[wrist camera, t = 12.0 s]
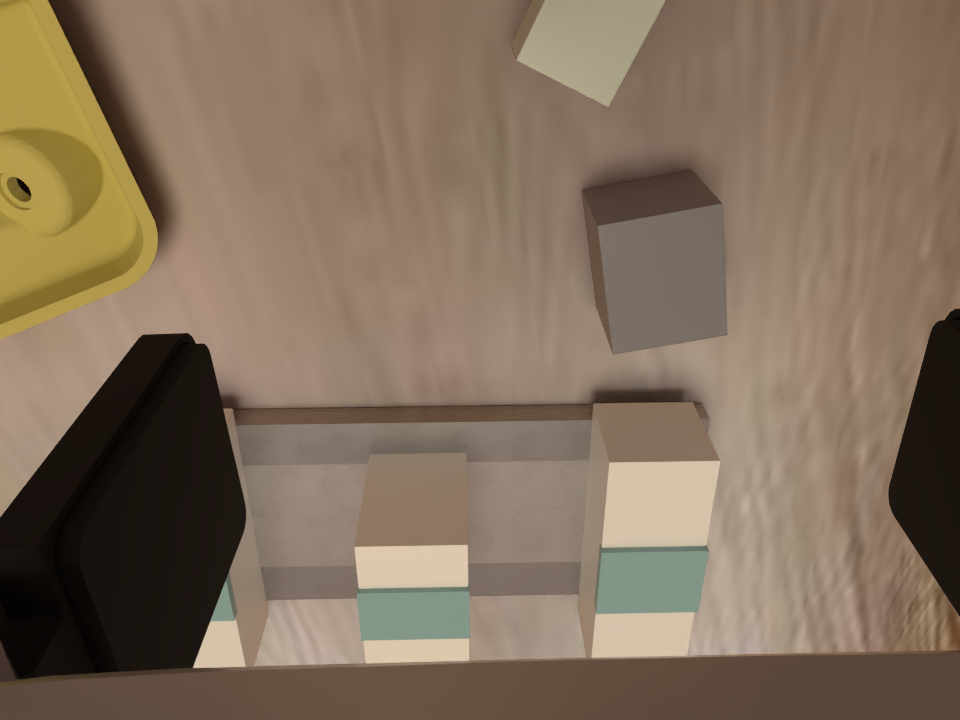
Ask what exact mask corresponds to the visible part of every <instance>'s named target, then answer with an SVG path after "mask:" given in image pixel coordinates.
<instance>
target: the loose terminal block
mask: <svg viewBox="0 0 960 720" xmlns="http://www.w3.org/2000/svg"><path fill="white" fill-rule="evenodd" d="M665 1H666V0H532V1H531V4H530V6H529V8H528V10H527V12H526V14H525V16H524V18H523V21H522V23H521V25H520V27H519V29H518V31H517V33H516V36H515V38H514V40H513V42H512V44H511V47H512V50H513V53H514V55H515V58H516V60H517V61H519V62H521V63H523V64H525V65H527V66H529V67H531V68H533V69H534V70H536V71H538V72H540V73H542V74H544V75H546V76H548V77H550V78H552V79H554V80H556V81H558V82H560V83H562V84H564V85H566V86H568V87H570V88H572V89H574V90H576V91H578V92H580V93H582V94H584V95H586V96H588V97H589V98H591V99H593V100H595V101H597V102H599V103H601V104H603V105H605V106H607V107H609V105H610V103H611V101H612V99H613V97H614V95H615V94H616V92H617V90H618V88H619V86H620V84H621V82H622V81H623V79H624V77H625V75H626V73H627V71H628V70H629V68H630V66H631V64H632V62H633V60H634V58H635V57H636V55H637V53H638V51H639V49H640V47H641V45H642V44H643V42H644V40H645V38H646V36H647V34H648V33H649V31H650V29H651V27H652V25H653V23H654V21H655V20H656V18H657V16H658V14H659V12H660V10H661V8H662V7H663V5H664V3H665Z"/></svg>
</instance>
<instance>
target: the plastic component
mask: <svg viewBox="0 0 960 720" xmlns="http://www.w3.org/2000/svg"><path fill="white" fill-rule="evenodd" d="M16 178H18V179H21V180H22V181H23V182H24V183H25V184H26V185H27V186H28V187H29V189H30V192H31V196H30V195H28V194H27V193H25V192H24V191H23V190H22V189H21V188H20V186H19V185H18V182H17V179H16ZM157 246H158V233H157V228H156V224H155V220H154V218H153V216H152V214H151V212H150V210H149V208H148V206H147V204H146V202H145V200H144V198H143V196H142V194H141V191H140V189H139V187H138V185H137V183H136V181H135V179H134V177H133V175H132V173H131V171H130V169H129V167H128V165H127V163H126V160H125V158H124V156H123V154H122V152H121V150H120V148H119V146H118V144H117V142H116V140H115V138H114V136H113V134H112V132H111V129H110V127H109V125H108V123H107V121H106V119H105V117H104V115H103V113H102V111H101V109H100V107H99V105H98V103H97V101H96V98H95V96H94V94H93V92H92V90H91V88H90V86H89V84H88V82H87V80H86V78H85V76H84V74H83V72H82V70H81V67H80V65H79V63H78V61H77V59H76V57H75V55H74V53H73V51H72V49H71V47H70V45H69V43H68V41H67V39H66V37H65V34H64V32H63V30H62V28H61V26H60V24H59V22H58V20H57V18H56V16H55V14H54V12H53V10H52V8H51V6H50V3H49V1H48V0H0V339H2V338H5V337H7V336H9V335H12V334H14V333H17V332H19V331H22V330H24V329H27V328H29V327H32V326H34V325H36V324H39V323H41V322H44V321H46V320H49V319H51V318H54V317H56V316H59V315H61V314H63V313H66V312H68V311H71V310H73V309H76V308H78V307H81V306H83V305H86V304H88V303H90V302H93V301H95V300H98V299H100V298H103V297H105V296H108V295H110V294H113V293H115V292H117V291H120V290H122V289H125V288H127V287H129V286H130V285H132V284H133V283H135V282H136V281H138V280H139V279H140V278H141V277H142V276H143V275H144V274H145V273H146V272H147V270H148V269H149V268H150V266H151V264H152V262H153V260H154V258H155V255H156V251H157Z"/></svg>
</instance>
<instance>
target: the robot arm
mask: <svg viewBox="0 0 960 720" xmlns="http://www.w3.org/2000/svg"><path fill="white" fill-rule="evenodd" d="M889 504H890V507H891V511H892V513H893V515H894V517H895V518H896V520H897V521H898V523H899V524H900V526H901V527H902V529H903V530H904V532H905V533H906V535H907V536H908V538H909V540H910V541H911V543H912V544H913V546H914V547H915V549H916V550H917V552H918V553H919V555H920V556H921V558H922V559H923V561H924V562H925V564H926V565H927V567H928V569H929V570H930V572H931V573H932V575H933V576H934V578H935V579H936V581H937V582H938V584H939V585H940V587H941V588H942V590H943V591H944V593H945V595H946V596H947V598H948V599H949V601H950V602H951V604H952V605H953V607H954V608H955V610H956V611H957V613H958V614H959V616H960V309H955V310H953V311H951V312H950V313H949V315H948V316H947V317H946V319H945V320H942V321H938V322H937V323H936V324H935V325H934V326H933V328H932V331H931V333H930V337H929V340H928V344H927V348H926V352H925V355H924V359H923V363H922V366H921V370H920V374H919V377H918V381H917V385H916V389H915V392H914V396H913V400H912V403H911V407H910V411H909V415H908V418H907V422H906V426H905V429H904V433H903V437H902V441H901V444H900V448H899V452H898V455H897V459H896V463H895V467H894V470H893V474H892V478H891V481H890V485H889ZM245 525H246V505H245V500H244V495H243V491H242V487H241V483H240V478H239V474H238V470H237V466H236V461H235V457H234V453H233V448H232V444H231V440H230V436H229V431H228V427H227V423H226V419H225V414H224V410H223V406H222V401H221V397H220V393H219V389H218V384H217V380H216V376H215V372H214V367H213V363H212V359H211V355H210V352H209V349H208V347H207V346H206V345H205V344H196V343H195V341H194V339H193V338H192V336H191V335H189V334H188V333H182V334H150V335H142V336H141V337H140V338H139V339H138V340H137V341H136V343H135V344H134V345H133V347H132V348H131V349H130V350H129V352H128V353H127V354H126V356H125V357H124V358H123V360H122V361H121V362H120V363H119V365H118V366H117V367H116V369H115V370H114V371H113V372H112V374H111V375H110V376H109V378H108V379H107V380H106V382H105V383H104V384H103V385H102V387H101V388H100V389H99V391H98V392H97V393H96V394H95V396H94V397H93V398H92V400H91V401H90V402H89V403H88V405H87V406H86V407H85V409H84V410H83V411H82V413H81V414H80V415H79V416H78V418H77V419H76V420H75V422H74V423H73V424H72V425H71V427H70V428H69V429H68V431H67V432H66V433H65V435H64V436H63V437H62V438H61V440H60V441H59V442H58V444H57V445H56V446H55V447H54V449H53V450H52V451H51V453H50V454H49V455H48V456H47V458H46V459H45V460H44V462H43V463H42V464H41V466H40V467H39V468H38V469H37V471H36V472H35V473H34V475H33V476H32V477H31V478H30V480H29V481H28V482H27V484H26V485H25V486H24V487H23V489H22V490H21V491H20V493H19V494H18V495H17V497H16V498H15V499H14V500H13V502H12V503H11V504H10V506H9V507H8V508H7V509H6V511H5V512H4V513H3V515H2V516H1V517H0V720H960V650H952V651H895V652H841V653H790V654H742V655H694V656H648V657H604V658H560V659H516V660H477V661H439V662H401V663H364V664H327V665H291V666H254V667H217V668H193V666H194V663H195V661H196V658H197V655H198V653H199V650H200V648H201V645H202V642H203V640H204V637H205V634H206V632H207V629H208V626H209V624H210V621H211V618H212V616H213V613H214V610H215V608H216V605H217V602H218V600H219V597H220V594H221V592H222V589H223V586H224V584H225V581H226V578H227V576H228V573H229V570H230V568H231V565H232V562H233V560H234V557H235V554H236V552H237V549H238V546H239V544H240V541H241V538H242V536H243V533H244V530H245Z"/></svg>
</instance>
